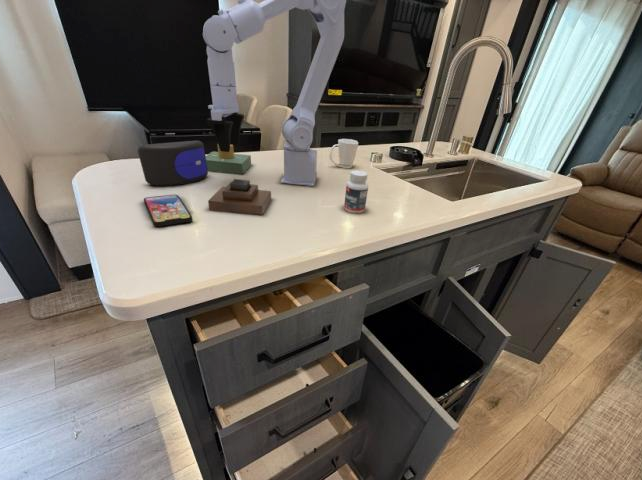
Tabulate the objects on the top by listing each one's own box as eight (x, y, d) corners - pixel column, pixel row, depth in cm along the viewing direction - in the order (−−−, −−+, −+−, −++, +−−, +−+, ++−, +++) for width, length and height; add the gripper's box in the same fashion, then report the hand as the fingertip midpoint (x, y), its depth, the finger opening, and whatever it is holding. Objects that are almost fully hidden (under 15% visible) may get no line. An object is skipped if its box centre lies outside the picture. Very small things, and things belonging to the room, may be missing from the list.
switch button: (250, 187, 76) (249, 180, 75) (246, 193, 73) (245, 185, 72) (235, 186, 76) (234, 178, 75) (230, 191, 73) (229, 183, 72)
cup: (359, 168, 110) (362, 143, 105) (334, 170, 106) (336, 144, 101) (349, 163, 115) (351, 138, 110) (324, 164, 111) (326, 138, 106)
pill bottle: (339, 208, 80) (343, 171, 75) (353, 203, 83) (358, 168, 78) (355, 215, 77) (359, 177, 72) (369, 210, 80) (374, 174, 75)
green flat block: (251, 165, 103) (250, 154, 101) (242, 174, 95) (241, 163, 93) (213, 161, 103) (212, 150, 101) (202, 170, 95) (200, 158, 93)
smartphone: (177, 194, 76) (193, 217, 66) (178, 197, 76) (193, 221, 67) (142, 197, 72) (153, 223, 63) (143, 201, 73) (154, 227, 63)
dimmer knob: (221, 154, 98) (219, 141, 96) (235, 156, 99) (234, 142, 96) (216, 158, 95) (215, 144, 93) (231, 159, 95) (230, 145, 93)
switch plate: (271, 199, 81) (270, 183, 78) (262, 215, 73) (261, 198, 70) (223, 195, 80) (221, 178, 78) (209, 210, 72) (206, 192, 70)
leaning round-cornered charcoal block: (152, 190, 79) (141, 148, 73) (145, 184, 81) (134, 144, 76) (214, 180, 89) (209, 142, 83) (206, 175, 91) (201, 139, 85)
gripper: (216, 81, 81) (223, 140, 89) (193, 85, 69) (203, 152, 77) (244, 84, 81) (249, 143, 89) (226, 88, 69) (233, 155, 77)
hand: (229, 147), depth 83 cm, fingers open, 7 cm apart
